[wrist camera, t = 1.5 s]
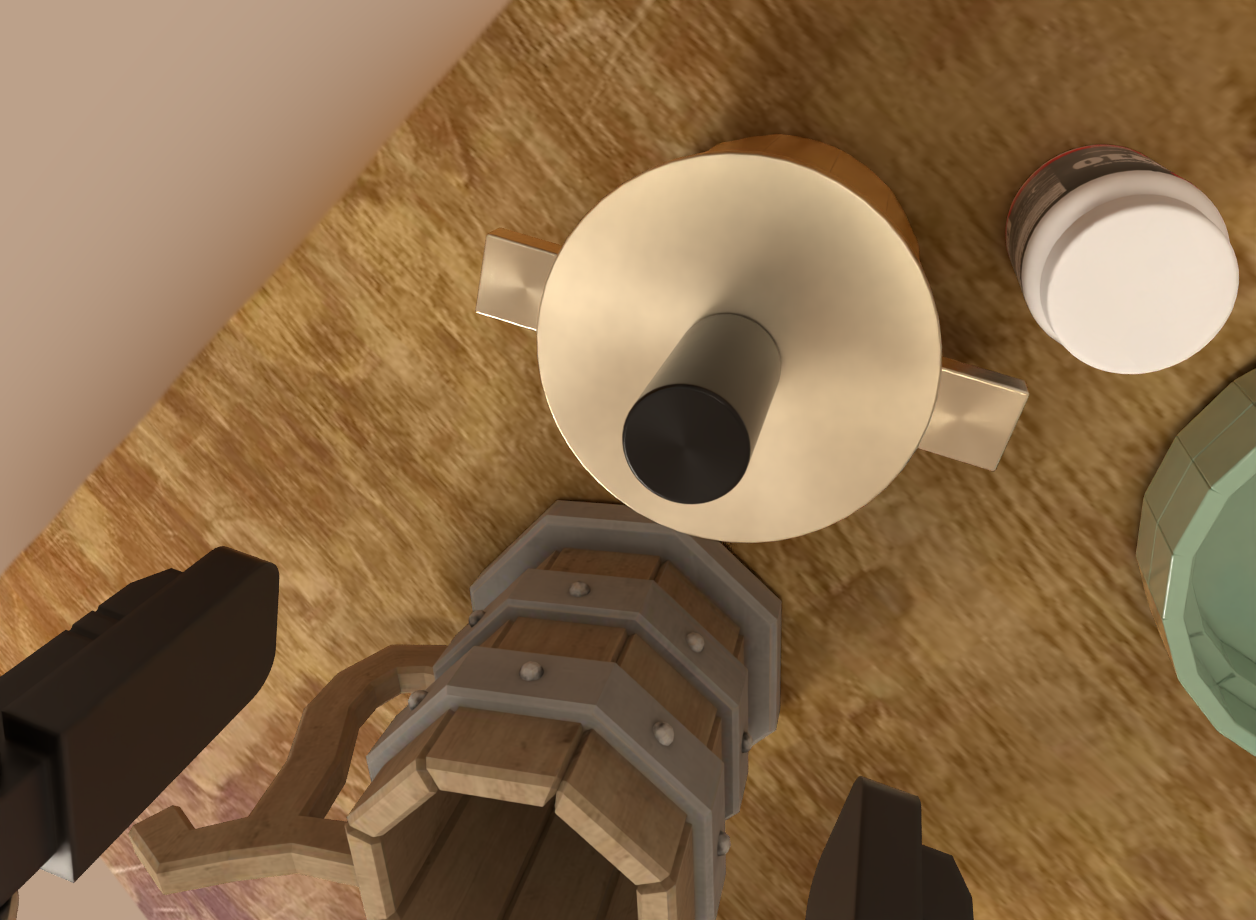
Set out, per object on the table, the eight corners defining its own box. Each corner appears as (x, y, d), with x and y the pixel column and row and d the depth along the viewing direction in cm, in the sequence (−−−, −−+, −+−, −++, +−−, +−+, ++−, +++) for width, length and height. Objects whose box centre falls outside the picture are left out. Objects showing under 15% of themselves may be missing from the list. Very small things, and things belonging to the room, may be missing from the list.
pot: (588, 79, 31) (495, 97, 24) (1053, 203, 29) (1098, 261, 22) (538, 352, 36) (448, 433, 29) (938, 476, 34) (946, 596, 27)
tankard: (783, 513, 36) (707, 799, 23) (780, 774, 41) (717, 1131, 28) (316, 480, 41) (36, 697, 28) (365, 715, 46) (148, 993, 33)
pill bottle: (1207, 175, 28) (1312, 231, 21) (1119, 321, 30) (1187, 419, 23) (1050, 119, 28) (1099, 154, 21) (975, 266, 31) (996, 345, 23)
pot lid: (588, 99, 24) (487, 124, 19) (1007, 211, 23) (1040, 277, 17) (521, 461, 29) (425, 570, 23) (862, 573, 28) (850, 719, 22)
